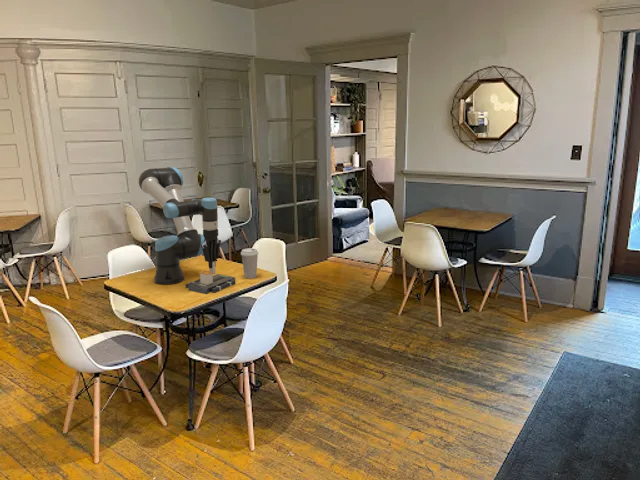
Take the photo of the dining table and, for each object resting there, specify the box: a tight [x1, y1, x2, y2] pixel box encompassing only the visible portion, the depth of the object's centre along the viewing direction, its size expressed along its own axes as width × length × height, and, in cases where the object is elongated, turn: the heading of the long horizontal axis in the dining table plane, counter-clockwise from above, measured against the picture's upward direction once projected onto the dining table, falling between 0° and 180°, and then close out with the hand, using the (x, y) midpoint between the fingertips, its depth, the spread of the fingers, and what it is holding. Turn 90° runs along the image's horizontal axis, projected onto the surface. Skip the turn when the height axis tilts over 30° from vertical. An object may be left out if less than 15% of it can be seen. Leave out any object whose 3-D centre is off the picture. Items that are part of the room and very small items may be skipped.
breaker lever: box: [199, 270, 214, 285], centre depth 245 cm, size 5×4×6 cm
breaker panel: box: [187, 273, 236, 295], centre depth 249 cm, size 12×22×3 cm, turn 151°
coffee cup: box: [240, 247, 259, 279], centre depth 263 cm, size 10×10×15 cm
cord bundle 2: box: [211, 280, 236, 294], centre depth 246 cm, size 3×16×2 cm, turn 151°
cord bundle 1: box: [184, 278, 200, 289], centre depth 253 cm, size 5×18×2 cm, turn 151°
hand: (212, 273), depth 249 cm, fingers closed
